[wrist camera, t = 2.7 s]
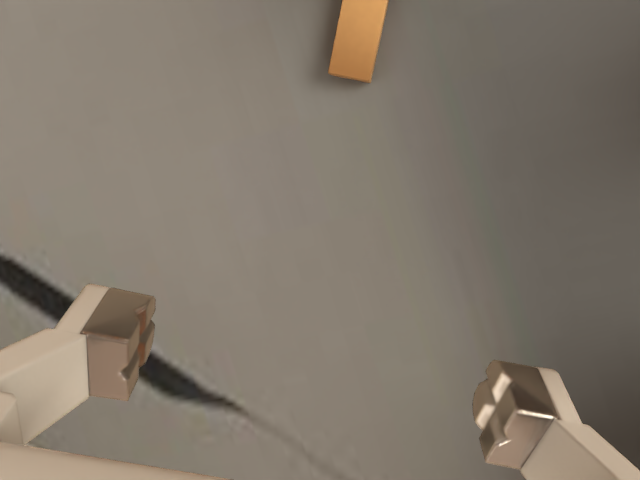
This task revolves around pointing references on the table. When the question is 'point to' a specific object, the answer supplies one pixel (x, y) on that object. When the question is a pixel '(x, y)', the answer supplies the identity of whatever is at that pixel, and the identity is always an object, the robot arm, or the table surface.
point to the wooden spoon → (357, 39)
